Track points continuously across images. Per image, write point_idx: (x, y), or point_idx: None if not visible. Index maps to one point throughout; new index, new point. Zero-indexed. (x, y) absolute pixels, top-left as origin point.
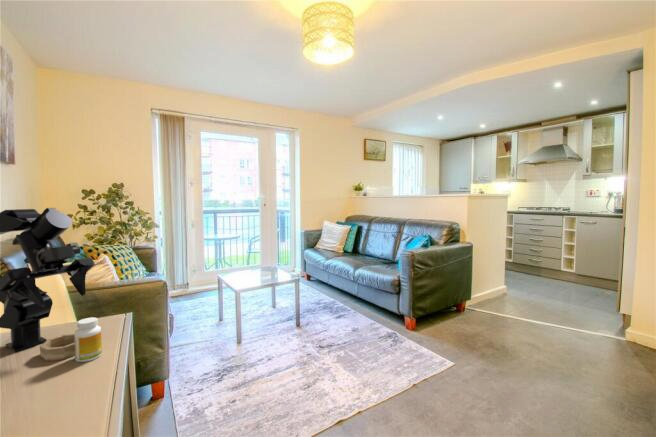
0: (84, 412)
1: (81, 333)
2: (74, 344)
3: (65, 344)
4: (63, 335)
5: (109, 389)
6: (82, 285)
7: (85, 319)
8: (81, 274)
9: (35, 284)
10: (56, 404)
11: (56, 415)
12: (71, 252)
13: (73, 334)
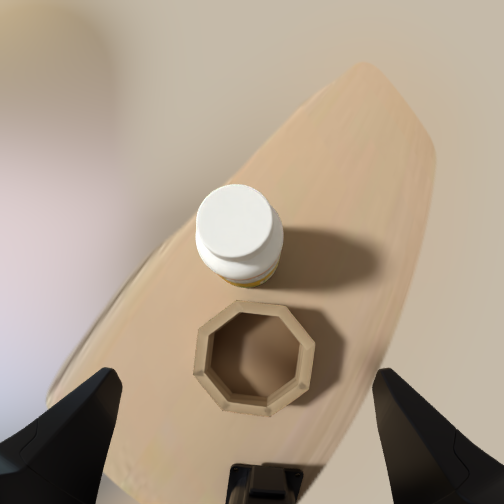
0: (364, 88)
1: (275, 213)
2: (254, 303)
3: (229, 390)
4: (226, 405)
5: (314, 97)
6: (72, 408)
7: (230, 238)
8: (7, 467)
9: (463, 497)
10: (382, 137)
11: (390, 115)
12: None
13: (207, 382)
